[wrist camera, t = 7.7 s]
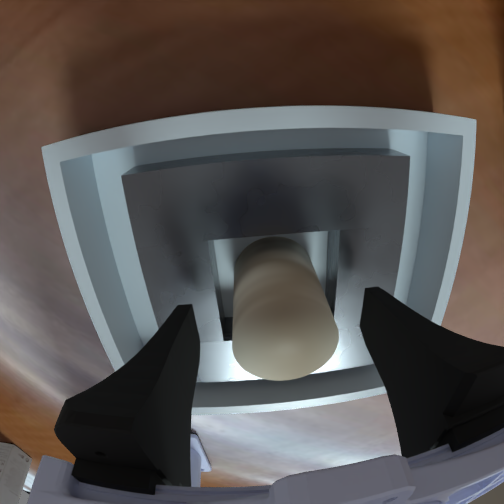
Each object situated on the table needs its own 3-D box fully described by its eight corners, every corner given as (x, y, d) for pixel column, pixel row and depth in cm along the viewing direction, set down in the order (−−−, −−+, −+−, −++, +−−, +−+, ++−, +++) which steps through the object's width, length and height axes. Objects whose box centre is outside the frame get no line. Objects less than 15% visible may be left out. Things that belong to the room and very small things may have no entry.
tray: (147, 373, 20) (137, 413, 17) (79, 135, 13) (41, 146, 10) (399, 349, 20) (417, 385, 17) (433, 112, 13) (476, 119, 10)
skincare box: (13, 443, 29) (-10, 505, 18) (34, 459, 31) (15, 520, 20) (-3, 441, 30) (-25, 497, 19) (16, 457, 31) (-3, 512, 21)
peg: (240, 308, 17) (240, 385, 12) (228, 241, 15) (223, 310, 11) (312, 298, 17) (336, 372, 12) (310, 231, 15) (341, 294, 10)
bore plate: (181, 359, 19) (176, 382, 17) (135, 165, 14) (121, 175, 12) (368, 341, 19) (378, 362, 17) (390, 148, 14) (410, 155, 12)
